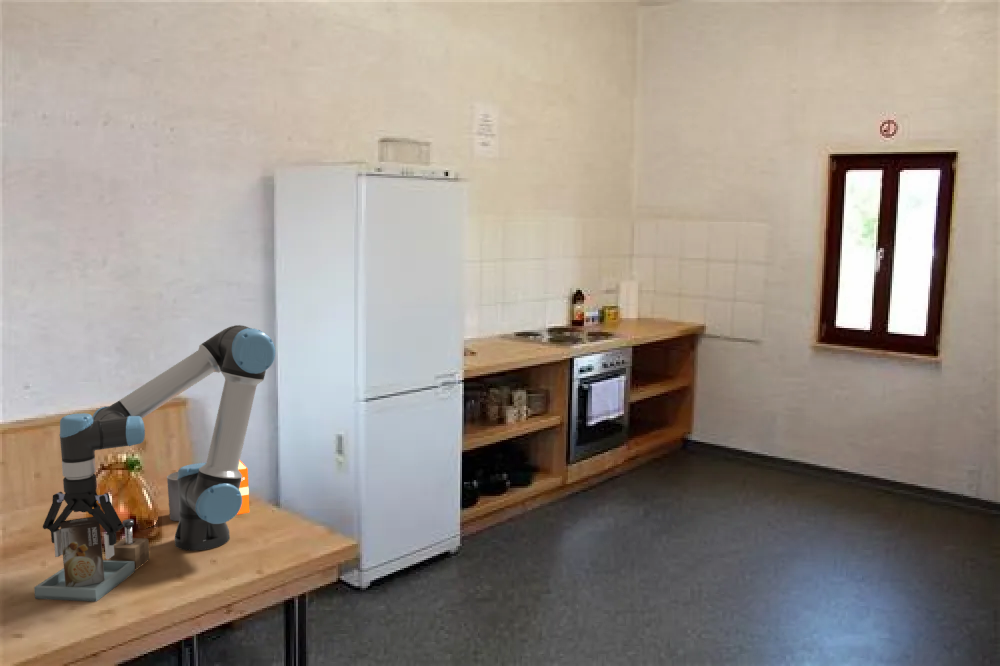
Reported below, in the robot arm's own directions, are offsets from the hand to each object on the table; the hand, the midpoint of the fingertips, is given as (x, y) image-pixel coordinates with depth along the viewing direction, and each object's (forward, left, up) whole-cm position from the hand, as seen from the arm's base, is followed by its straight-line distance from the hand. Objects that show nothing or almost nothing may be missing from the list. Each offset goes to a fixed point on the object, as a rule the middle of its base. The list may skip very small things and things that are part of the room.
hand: (84, 556), depth 218 cm
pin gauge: (-4, -14, -8) cm, 16 cm away
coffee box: (+1, 0, -7) cm, 7 cm away
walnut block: (-4, -14, -8) cm, 16 cm away
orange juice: (-14, -59, -8) cm, 61 cm away
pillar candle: (-1, -52, -8) cm, 53 cm away
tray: (0, 0, -8) cm, 8 cm away
